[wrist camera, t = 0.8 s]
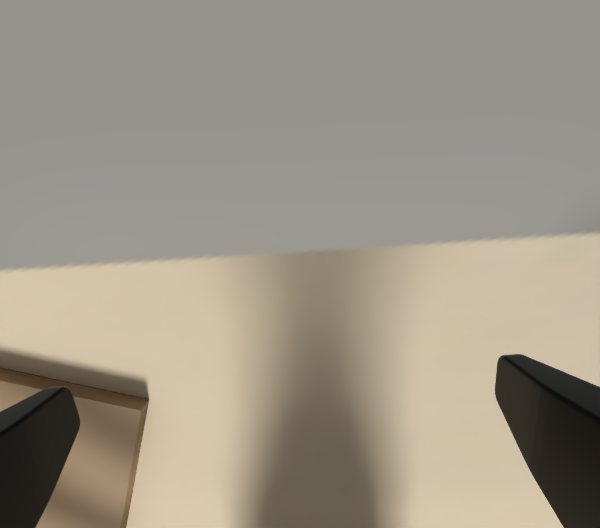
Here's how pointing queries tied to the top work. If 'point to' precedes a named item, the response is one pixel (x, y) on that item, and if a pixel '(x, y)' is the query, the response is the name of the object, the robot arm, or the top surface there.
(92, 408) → the taupe cutting board
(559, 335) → the top surface
